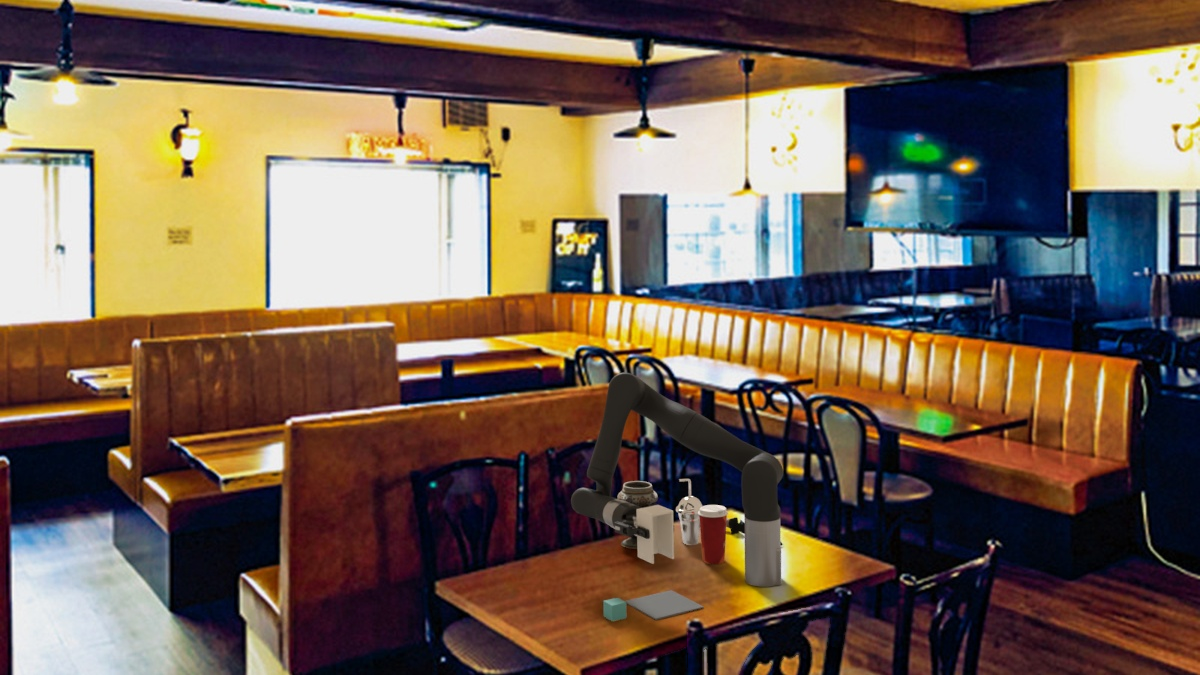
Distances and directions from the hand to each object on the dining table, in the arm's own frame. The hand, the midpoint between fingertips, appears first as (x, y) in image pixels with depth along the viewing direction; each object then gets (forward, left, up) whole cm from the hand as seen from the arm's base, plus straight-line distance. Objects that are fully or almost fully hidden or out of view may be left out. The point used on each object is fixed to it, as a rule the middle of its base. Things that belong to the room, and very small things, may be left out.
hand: (660, 532), depth 260 cm
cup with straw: (-5, -54, -20) cm, 58 cm away
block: (+11, +5, -20) cm, 23 cm away
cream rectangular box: (+1, -2, -7) cm, 7 cm away
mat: (0, -4, -20) cm, 20 cm away
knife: (-20, -62, -20) cm, 68 cm away
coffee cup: (-12, -38, -20) cm, 45 cm away
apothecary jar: (+10, -52, -20) cm, 57 cm away
